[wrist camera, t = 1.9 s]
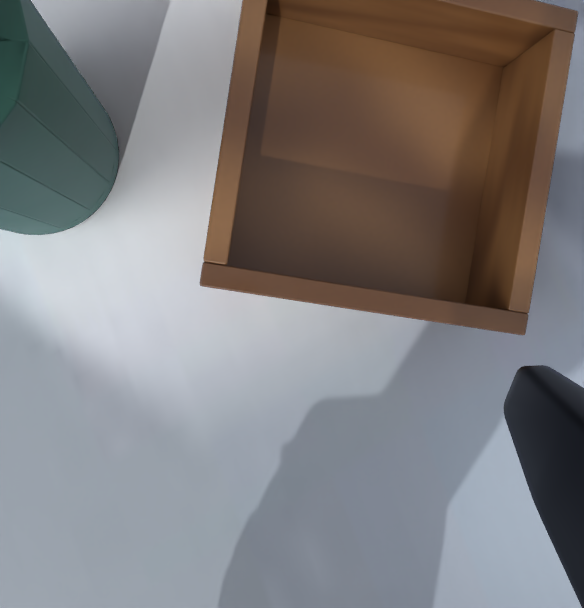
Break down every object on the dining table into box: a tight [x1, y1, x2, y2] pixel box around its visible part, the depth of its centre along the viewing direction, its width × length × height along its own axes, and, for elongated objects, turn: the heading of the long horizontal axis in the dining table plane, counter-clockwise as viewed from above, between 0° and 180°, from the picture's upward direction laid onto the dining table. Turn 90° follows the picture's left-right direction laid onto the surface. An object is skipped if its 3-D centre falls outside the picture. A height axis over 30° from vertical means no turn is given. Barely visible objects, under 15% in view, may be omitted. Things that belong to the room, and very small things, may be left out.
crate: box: [200, 0, 578, 335], centre depth 20 cm, size 12×12×4 cm
